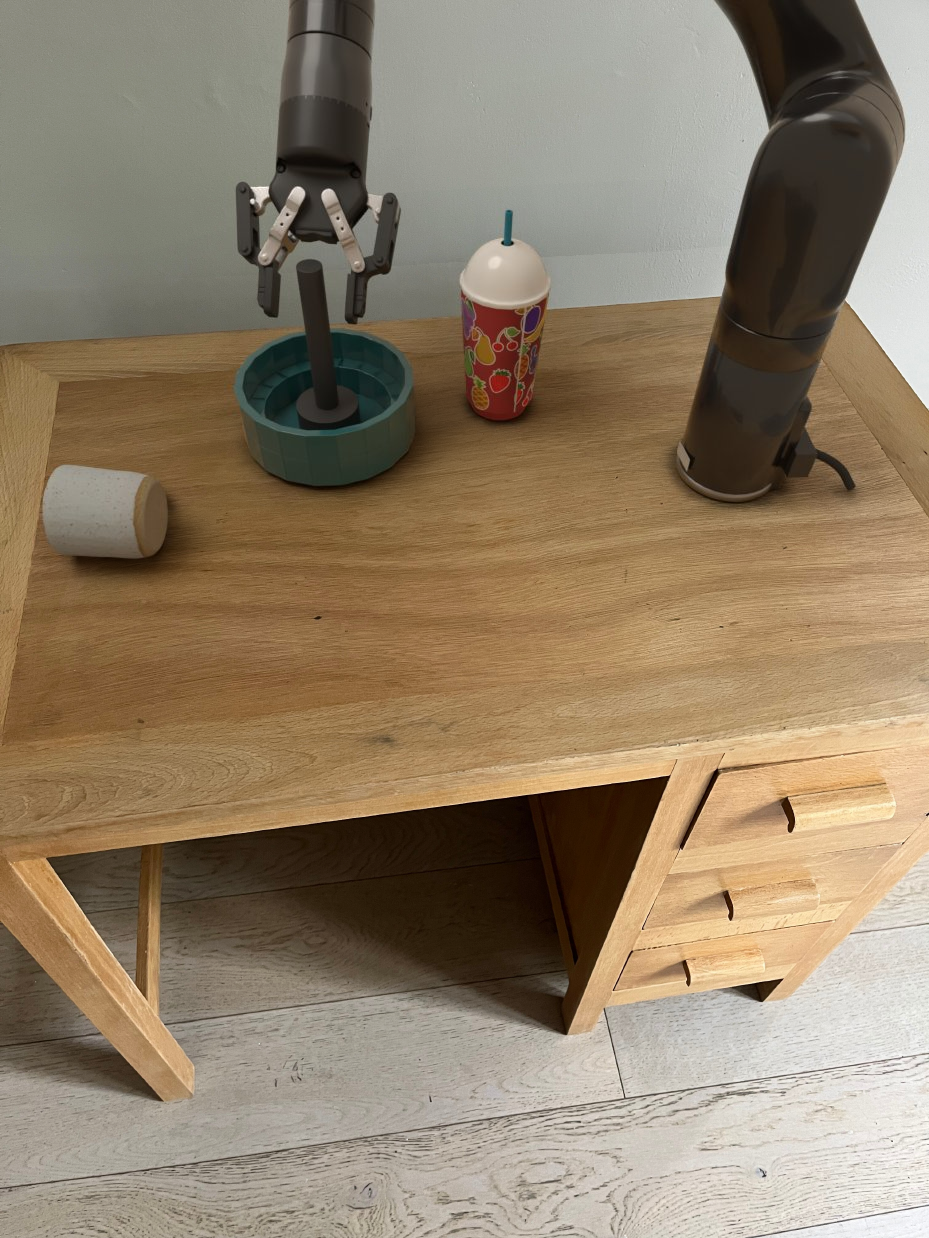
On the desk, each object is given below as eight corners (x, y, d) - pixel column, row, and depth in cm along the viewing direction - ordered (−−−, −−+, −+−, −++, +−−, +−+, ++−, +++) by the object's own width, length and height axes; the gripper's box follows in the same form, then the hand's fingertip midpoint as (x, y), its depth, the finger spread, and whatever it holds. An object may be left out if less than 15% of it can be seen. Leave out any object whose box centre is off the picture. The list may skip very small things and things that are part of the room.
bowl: (413, 380, 91) (411, 326, 86) (417, 488, 81) (415, 433, 75) (255, 384, 90) (243, 329, 85) (238, 493, 80) (224, 438, 75)
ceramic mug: (157, 576, 73) (132, 510, 67) (62, 573, 73) (28, 507, 67) (187, 493, 80) (166, 426, 74) (99, 490, 80) (71, 422, 74)
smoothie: (555, 411, 88) (578, 218, 72) (488, 440, 85) (497, 246, 69) (507, 370, 92) (519, 180, 77) (442, 396, 89) (441, 204, 74)
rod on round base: (373, 428, 85) (359, 266, 72) (326, 456, 82) (303, 293, 69) (334, 401, 88) (314, 240, 74) (287, 427, 85) (258, 265, 72)
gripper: (225, 85, 68) (213, 301, 70) (403, 97, 68) (386, 315, 69) (255, 129, 76) (243, 323, 78) (415, 139, 75) (400, 335, 77)
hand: (310, 318), depth 74 cm, fingers open, 6 cm apart
